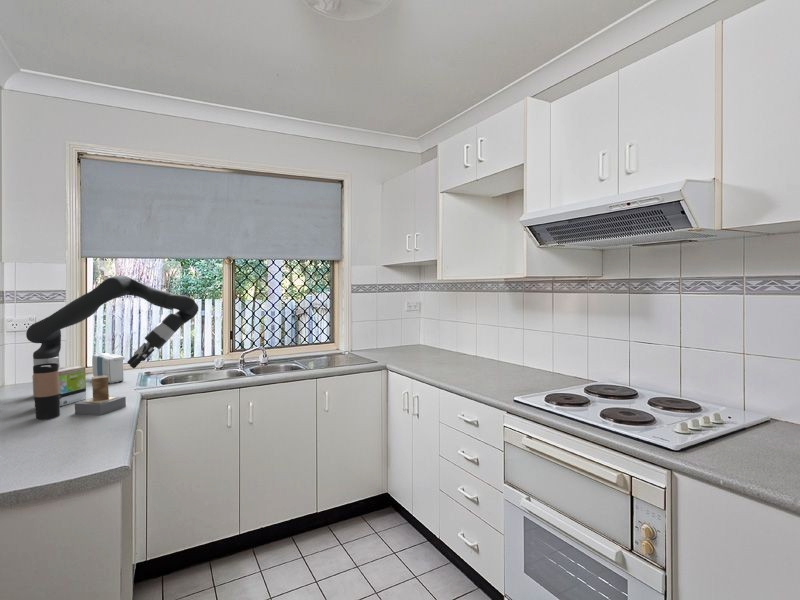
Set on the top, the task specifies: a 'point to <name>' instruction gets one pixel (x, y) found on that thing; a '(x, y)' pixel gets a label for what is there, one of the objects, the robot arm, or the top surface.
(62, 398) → the tea box
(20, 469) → the top surface
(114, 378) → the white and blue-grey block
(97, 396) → the walnut block
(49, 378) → the travel mug
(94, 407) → the base
